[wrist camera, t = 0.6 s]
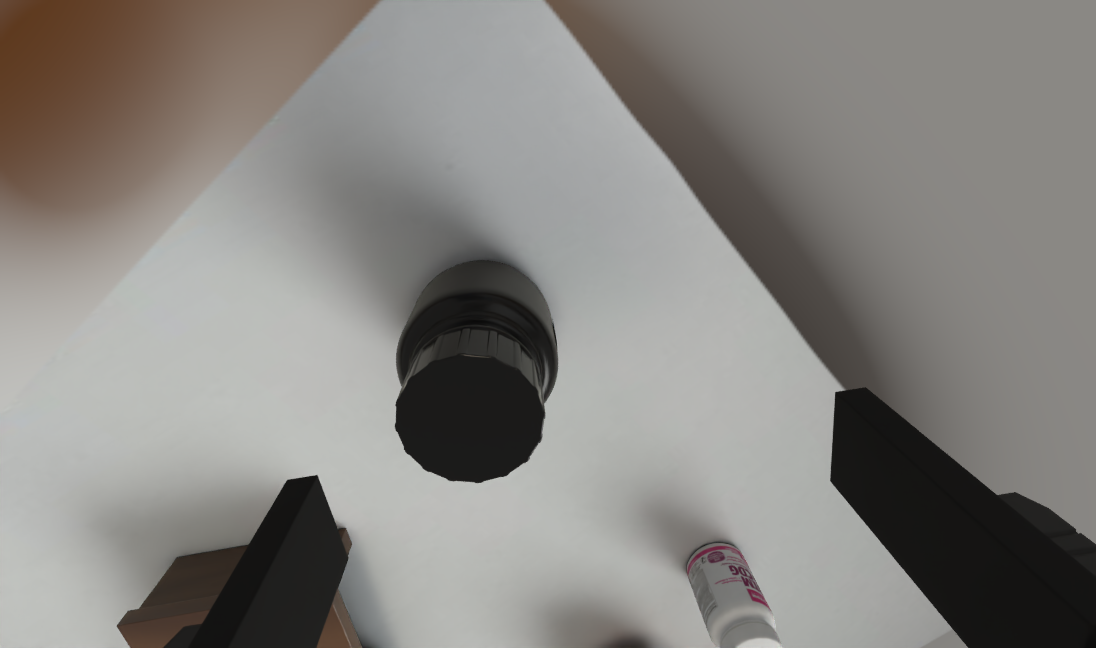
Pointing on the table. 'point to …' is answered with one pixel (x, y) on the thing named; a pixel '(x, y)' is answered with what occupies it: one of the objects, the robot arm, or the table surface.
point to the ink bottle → (475, 372)
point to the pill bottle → (731, 599)
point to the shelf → (211, 601)
